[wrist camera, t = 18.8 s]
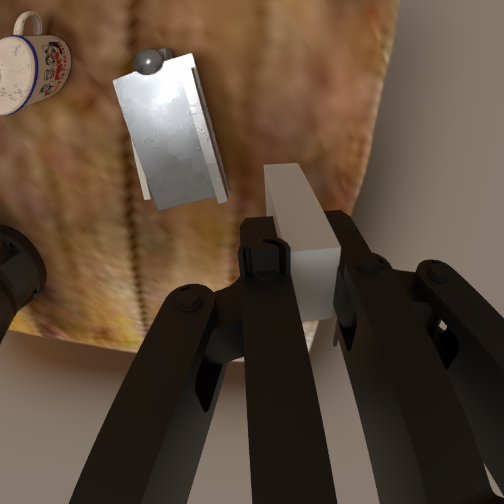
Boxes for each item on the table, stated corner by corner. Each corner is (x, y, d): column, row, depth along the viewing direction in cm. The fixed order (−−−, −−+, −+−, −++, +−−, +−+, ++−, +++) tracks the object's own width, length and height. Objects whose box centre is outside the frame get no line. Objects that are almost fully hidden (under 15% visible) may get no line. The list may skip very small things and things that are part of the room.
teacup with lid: (71, 99, 31) (19, 121, 22) (17, 101, 30) (-38, 125, 20) (82, 9, 24) (29, 1, 15) (25, 18, 23) (-33, 20, 14)
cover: (160, 207, 37) (153, 223, 33) (111, 64, 26) (96, 66, 23) (230, 189, 36) (229, 205, 33) (188, 36, 26) (182, 34, 22)
